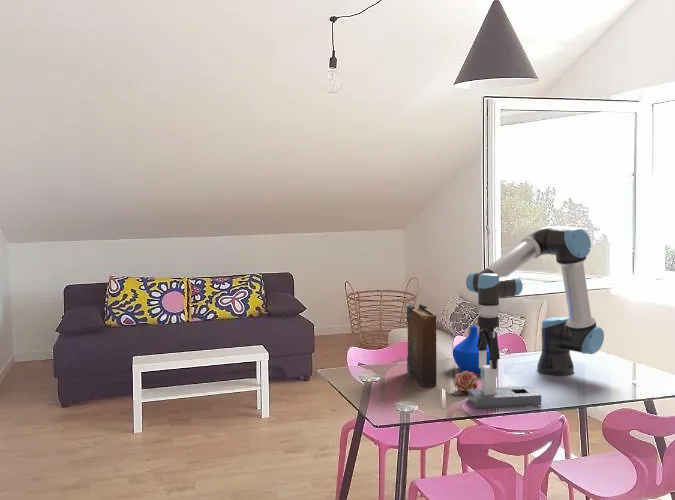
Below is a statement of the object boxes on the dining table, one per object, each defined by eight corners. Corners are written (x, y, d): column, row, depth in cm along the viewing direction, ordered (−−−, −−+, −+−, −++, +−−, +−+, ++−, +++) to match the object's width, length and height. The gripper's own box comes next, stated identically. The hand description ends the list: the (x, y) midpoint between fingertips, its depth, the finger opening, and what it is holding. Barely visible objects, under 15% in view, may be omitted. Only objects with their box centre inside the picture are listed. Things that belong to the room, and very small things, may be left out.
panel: (529, 397, 285) (529, 386, 285) (541, 407, 273) (541, 395, 273) (468, 400, 283) (468, 389, 283) (477, 410, 271) (477, 398, 271)
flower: (451, 384, 299) (451, 371, 294) (473, 378, 300) (473, 365, 295) (459, 403, 292) (459, 390, 287) (482, 397, 293) (481, 384, 287)
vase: (448, 373, 321) (448, 330, 319) (457, 363, 338) (457, 321, 336) (491, 377, 314) (491, 332, 312) (498, 366, 331) (498, 324, 329)
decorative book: (407, 372, 324) (406, 304, 320) (423, 371, 325) (422, 303, 322) (422, 388, 301) (421, 314, 297) (439, 386, 302) (438, 313, 299)
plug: (492, 401, 280) (492, 364, 278) (495, 404, 276) (495, 367, 274) (480, 402, 279) (480, 365, 278) (483, 405, 275) (483, 368, 274)
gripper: (469, 310, 286) (468, 364, 288) (488, 322, 261) (487, 381, 263) (488, 309, 287) (487, 363, 289) (509, 321, 262) (508, 381, 264)
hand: (487, 372), depth 276 cm, fingers open, 13 cm apart
